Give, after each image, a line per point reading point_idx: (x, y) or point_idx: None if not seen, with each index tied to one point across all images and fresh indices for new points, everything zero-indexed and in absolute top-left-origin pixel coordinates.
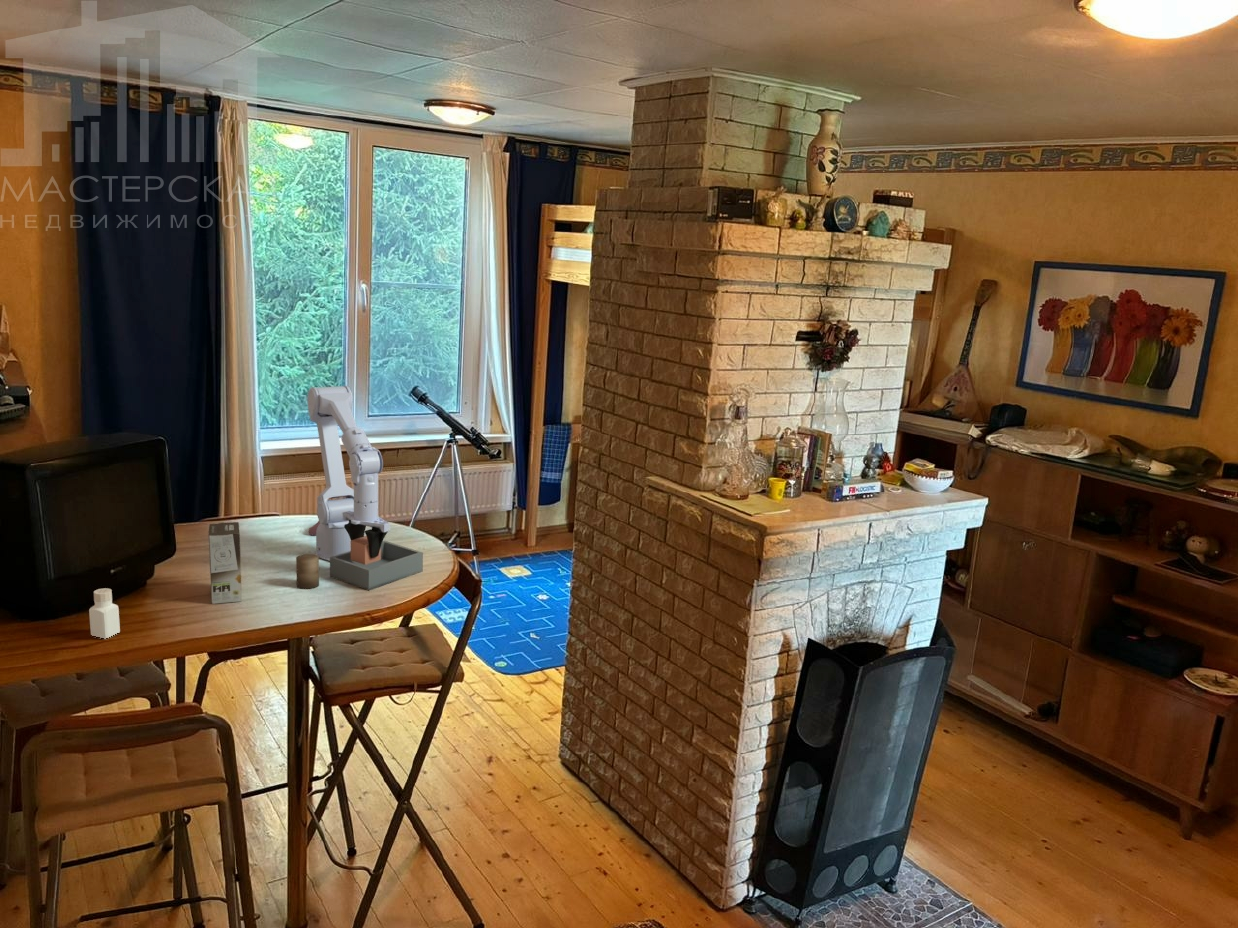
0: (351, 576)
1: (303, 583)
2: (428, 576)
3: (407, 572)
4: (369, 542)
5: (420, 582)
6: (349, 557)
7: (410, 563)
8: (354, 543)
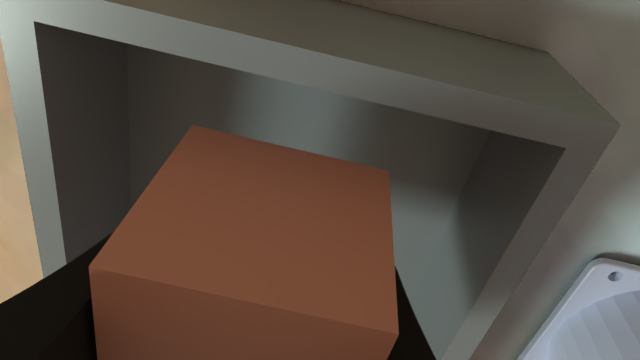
0: (294, 8)
1: None
2: None
3: None
4: (37, 324)
5: (6, 213)
6: (475, 255)
7: None
8: (317, 295)
